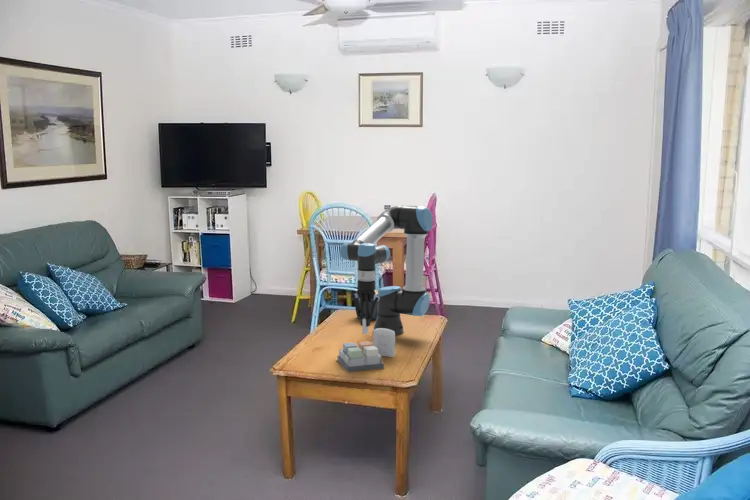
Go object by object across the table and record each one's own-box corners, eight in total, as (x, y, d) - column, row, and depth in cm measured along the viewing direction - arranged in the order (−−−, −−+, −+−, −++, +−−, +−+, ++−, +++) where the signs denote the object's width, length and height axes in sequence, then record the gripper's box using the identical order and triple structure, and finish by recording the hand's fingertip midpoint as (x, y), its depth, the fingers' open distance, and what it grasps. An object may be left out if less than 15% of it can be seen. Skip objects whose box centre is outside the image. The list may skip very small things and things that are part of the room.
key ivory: (374, 353, 267) (374, 345, 267) (378, 357, 262) (378, 349, 262) (363, 354, 265) (363, 346, 265) (366, 358, 261) (366, 350, 260)
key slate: (354, 350, 271) (354, 342, 271) (357, 353, 267) (357, 345, 266) (343, 351, 270) (343, 343, 269) (346, 354, 265) (346, 346, 265)
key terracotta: (369, 348, 274) (369, 341, 273) (372, 352, 269) (372, 344, 268) (358, 349, 272) (358, 342, 271) (361, 353, 267) (361, 345, 267)
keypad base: (371, 356, 277) (372, 346, 276) (383, 368, 262) (384, 357, 261) (337, 360, 272) (337, 349, 271) (347, 372, 257) (347, 360, 256)
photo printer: (396, 355, 280) (396, 328, 278) (392, 357, 276) (393, 330, 274) (374, 352, 284) (375, 325, 282) (371, 354, 280) (371, 328, 278)
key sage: (358, 355, 265) (358, 347, 264) (362, 358, 260) (362, 350, 260) (347, 356, 263) (347, 348, 263) (350, 359, 259) (350, 351, 258)
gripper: (348, 279, 265) (347, 333, 269) (376, 282, 260) (374, 337, 263) (356, 276, 272) (356, 329, 275) (383, 279, 266) (382, 333, 270)
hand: (365, 333), depth 269 cm, fingers closed
